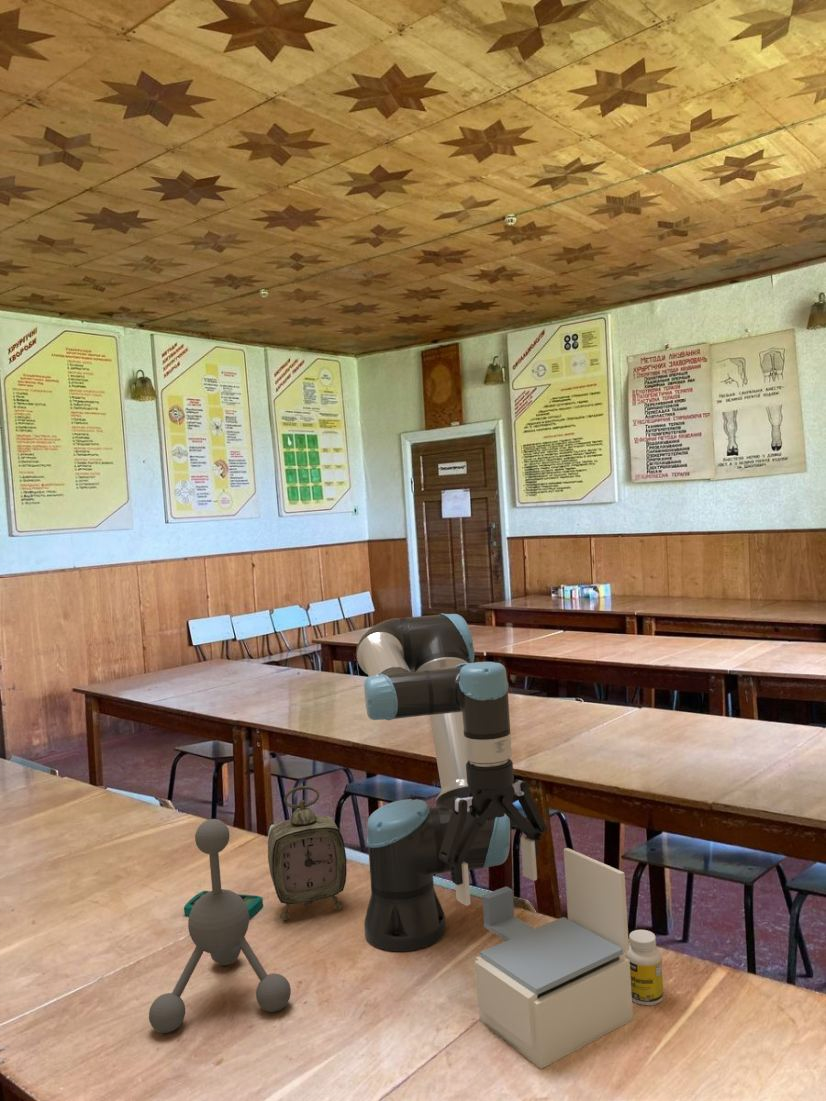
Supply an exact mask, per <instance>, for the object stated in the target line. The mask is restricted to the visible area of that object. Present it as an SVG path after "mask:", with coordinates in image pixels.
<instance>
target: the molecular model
mask: <svg viewBox="0 0 826 1101" xmlns="http://www.w3.org/2000/svg"><path fill="white" fill-rule="evenodd" d="M230 835H231V834H230V830H229V827H228V826H227V824H226V823H224V822H223V821H222V820H220V819H217V818H210V819H207V820H205V821H203V822H202V823H201V824H200V825H199V826H198V827H197V829H196V832H195V836H194V841H195V845H196V846H197V848H198V850H199V851H200V852H202V853H203V854H206V855H209V868H210V878H211V881H210V882H211V890H209V891H210V892H208V893H206V894H204V895H203V896H202V897H200V898H199V899H198V900H197V902H196V903H195V904H194V906H193V907H192V910H191V912H190V915H189V916H188V922H187V927H188V929H187V930H188V933H189V936H190V939H191V940H192V942H193V943H194V944H195V948H194V950H193V952H192V953H191V955H190V957H189V959H188V961H187V963H186V965H185V967H184V968H183V971H182V972H181V974H180V976H179V979H178V981H176V982H177V983H176V984H175V986H174V988H173V990H172V992H167V993H166V992H165V993H163V994H161V995H159V996H157V997H156V998H155V999H154V1001H153V1002H152V1003H151V1004H150V1008H149V1011H148V1020H149V1023H150V1025H151V1027H152V1028H153V1029H154V1030H155V1031H157V1032H158V1033H162V1034H169V1033H172V1032H174V1031H176V1029H178V1028H179V1027H180V1026H181V1025H182V1023H183V1022H184V1019H185V1015H186V1005H185V1002H184V1000H183V999H182V998H181V997H182V994H183V993H184V991H185V989H186V987H187V985H188V982H189V981H190V978H191V977H192V974H193V973H194V971H195V969H196V967H197V965H198V963H199V961H200V959H201V958H202V955H203V953H207V954H210V957H211V959H212V961H213V962H215V963H216V964H218V965H221V966H227V965H230V964H232V963H233V962H235V961H236V960H237V959H238V957H239V956H240V954H241V951H242V954H243V955H244V957H245V958H246V959H247V961H248V963H249V965H250V966H251V968H252V969H253V972H255V974H256V976H257V978H258V979H259V983H258V985H257V987H256V991H255V998H256V1001H257V1004H258V1005H259V1007H260V1008H261V1009H262V1010H264V1011H266V1012H268V1013H276V1012H279V1011H281V1010H282V1009H284V1008H285V1007H286V1006H287V1004H288V1003H289V1001H290V998H291V991H292V989H291V984H290V982H289V980H288V978H287V977H285V976H283V975H282V974H280V973H270V974H268V973H267V972H266V970H265V968H264V967H263V965H262V964H261V962H260V960H259V959H258V957H257V955H256V954H255V953H254V950H253V949H252V947H251V946H250V944H249V941H248V940H247V939H246V934H247V932H248V929H249V924H250V919H249V913H248V908H247V906H246V903H245V902H244V901H243V899H242V898H241V897H240V896H239V895H238V894H239V893H237V892H234V891H232V890H230V889H225V888H222V881H221V869H220V856H219V853H221V852H222V851H224V850H225V848H226V847H227V846H228V844H229V840H230Z"/></svg>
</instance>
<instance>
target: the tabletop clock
mask: <svg viewBox="0 0 826 1101" xmlns="http://www.w3.org/2000/svg"><path fill="white" fill-rule="evenodd" d="M302 790H303V791H304V790H310V791H313V792H314V793H315V794H316V798H315V799H313V800H312V801H309V802H306V801H305V800H304V799H301V800H299V803H298V804H291V803H289V802H288V801H287V798H288V797H289V796H290V795H291V794H292V793H294V792H297V791H302ZM319 799H320V792H319V791H318V789H317V788H315V787H314V786H311V785H300V786H295V787H293V788H292V789H290V790H288V791H287V793H286V794H285V795H284V798H283V802H284V804H285V805H286V806H287V807H289V808H291V809H296V810H295V811H293V813H292V814H291V816H290V819H287V820H283V821H280V822H278V823H276V824H274V825H272V826H271V827H270V830H269V832H268V838H267V861H268V866H269V867H268V868H269V874H270V877H271V880H272V884H273V887H274V891H275V894H276V896H277V898H278V900H279V902H280V903H281V904H285V909H284V911H283V912H282V913H281V915H280V918H281V920H282V921H287V920H289V918H290V914H289V909H290V906H291V905H298V904H299V905H300V904H304V905H306V906H310V905H311V904H312V903H314V902H318V901H322V900H327V899H328V898H332V899H333V901H334V907H335V909H336V910H338V911H340V910H342V909H343V908H344V907H343V906H344V904H343V901H341V900H338V899H337V895H339V894H340V893H342V892H343V891H344V890H345V886H346V882H347V852H346V847H345V846H346V845H345V842H344V838H343V835H342V833H341V831H340V829H339V828H338V826H337V824H336V823H335V821H334V819H333V817H332V816H329V815H324V814H320V815H319V814H317V815H316V814H315V812H314V811H313V810H312V809H311V808H310V806H312V805H314V804H316V803H317V801H319Z"/></svg>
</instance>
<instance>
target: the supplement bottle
mask: <svg viewBox="0 0 826 1101" xmlns="http://www.w3.org/2000/svg"><path fill="white" fill-rule="evenodd" d="M628 942H629V951H628V952H626V953H625V958H627V959H629V960H630V977H631V994H632V1002H634V1003H636V1004H638V1005H642V1006H655V1005H657V1003H658V1004H659V1003H661V1002H662V1000H663V999H664V980H663V964H662V959H663V958H662V952H661V950H660V949H659V948H658V947H657V938H656V935H655V933H654V932H652V931H650V930H646V929H635V930H632V931H631V932H630V933H628Z"/></svg>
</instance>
